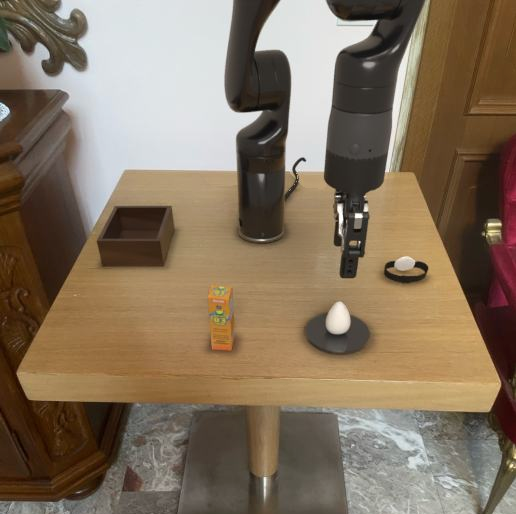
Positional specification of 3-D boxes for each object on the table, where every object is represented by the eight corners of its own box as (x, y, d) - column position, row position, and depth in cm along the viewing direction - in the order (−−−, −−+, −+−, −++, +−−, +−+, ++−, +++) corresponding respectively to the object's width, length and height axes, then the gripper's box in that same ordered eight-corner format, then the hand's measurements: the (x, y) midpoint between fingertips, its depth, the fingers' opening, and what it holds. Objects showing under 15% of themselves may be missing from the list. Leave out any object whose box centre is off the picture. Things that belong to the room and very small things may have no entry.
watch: (423, 270, 96) (427, 253, 94) (428, 284, 93) (433, 266, 90) (381, 270, 96) (383, 252, 94) (385, 284, 93) (388, 266, 91)
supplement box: (210, 351, 79) (205, 296, 73) (215, 336, 82) (210, 282, 75) (232, 352, 79) (229, 297, 72) (236, 338, 82) (233, 284, 75)
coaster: (314, 310, 87) (314, 307, 87) (374, 321, 84) (374, 318, 84) (297, 347, 80) (297, 344, 79) (363, 360, 77) (363, 357, 77)
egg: (326, 339, 80) (329, 310, 77) (323, 324, 83) (325, 295, 80) (351, 338, 80) (355, 309, 77) (346, 323, 83) (350, 294, 80)
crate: (119, 229, 110) (114, 205, 106) (174, 229, 109) (171, 205, 106) (102, 266, 98) (96, 240, 95) (163, 266, 98) (160, 240, 95)
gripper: (399, 167, 58) (378, 289, 68) (379, 125, 69) (363, 235, 79) (331, 167, 58) (321, 288, 68) (322, 125, 69) (314, 235, 79)
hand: (344, 260), depth 74 cm, fingers open, 8 cm apart
